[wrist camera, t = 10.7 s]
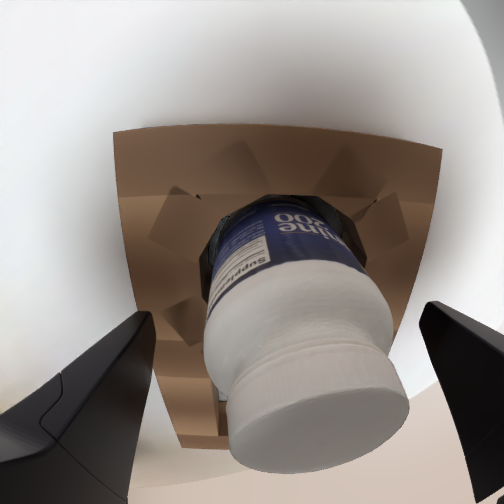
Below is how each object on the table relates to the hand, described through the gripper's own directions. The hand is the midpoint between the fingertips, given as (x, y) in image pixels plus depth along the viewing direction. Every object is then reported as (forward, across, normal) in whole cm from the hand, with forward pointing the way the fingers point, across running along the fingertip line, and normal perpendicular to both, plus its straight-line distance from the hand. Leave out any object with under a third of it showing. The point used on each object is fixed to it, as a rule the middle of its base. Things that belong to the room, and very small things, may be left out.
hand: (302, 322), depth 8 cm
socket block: (+6, 0, +5) cm, 7 cm away
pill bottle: (+6, 0, 0) cm, 6 cm away
